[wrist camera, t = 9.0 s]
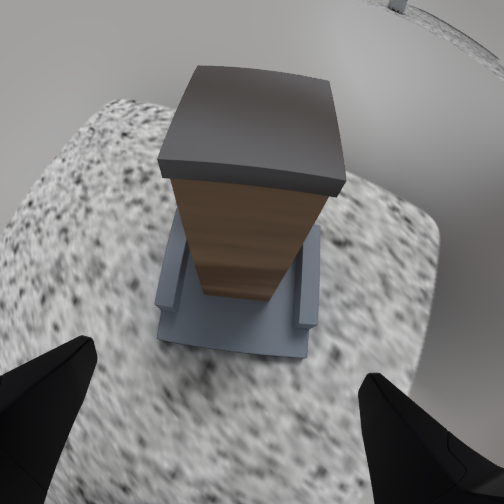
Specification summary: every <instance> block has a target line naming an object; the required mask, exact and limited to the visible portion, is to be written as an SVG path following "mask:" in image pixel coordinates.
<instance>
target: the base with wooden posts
mask: <svg viewBox="0 0 504 504" xmlns="http://www.w3.org/2000/svg"><path fill="white" fill-rule="evenodd" d="M319 282H320V226H319V225H313V227H312V228H311V230H310V232H309V234H308V236H307V237H306V239H305V241H304V243H303V244H302V246H301V248H300V250H299V251H298V253H297V255H296V257H295V258H294V260H293V262H292V264H291V265H290V267H289V269H288V271H287V272H286V274H285V276H284V277H283V279H282V281H281V283H280V284H279V286H278V288H277V289H276V291H275V293H274V294H273V296H272V298H271V299H270V301H258V300H248V299H239V298H229V297H221V296H212V295H204V293H203V290H202V287H201V284H200V281H199V278H198V274H197V271H196V268H195V265H194V261H193V258H192V255H191V252H190V248H189V245H188V241H187V238H186V235H185V231H184V228H183V224H182V221H181V217H180V214H179V210H178V207H177V209H176V212H175V216H174V220H173V224H172V228H171V232H170V236H169V240H168V244H167V248H166V252H165V257H164V261H163V265H162V270H161V275H160V279H159V284H158V289H157V294H156V299H155V305H156V306H157V307H158V308H159V309H161V310H162V311H161V316H160V322H159V328H158V334H157V339H159V340H162V341H167V342H173V343H178V344H184V345H190V346H196V347H203V348H209V349H216V350H224V351H231V352H240V353H248V354H258V355H268V356H279V357H292V358H307V352H308V339H309V329H311V328H312V327H314V326H316V325H318V309H319Z"/></svg>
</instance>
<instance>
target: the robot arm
mask: <svg viewBox="0 0 504 504" xmlns="http://www.w3.org/2000/svg"><path fill="white" fill-rule="evenodd" d="M96 364H97V353H96V349H95V345H94V341H93V339H92V338H91V337H87V336H84V335H81V336H78V337H76V338H75V339H73V340H71V341H69V342H67V343H65V344H63V345H61V346H59V347H57V348H55V349H53V350H51V351H49V352H47V353H45V354H43V355H41V356H39V357H37V358H35V359H33V360H31V361H29V362H27V363H25V364H23V365H21V366H19V367H17V368H15V369H13V370H11V371H9V372H7V373H5V374H3V376H2V375H1V376H0V504H44V501H45V498H46V495H47V491H48V489H49V486H50V483H51V480H52V477H53V474H54V471H55V469H56V466H57V463H58V461H59V458H60V455H61V453H62V450H63V448H64V445H65V443H66V440H67V438H68V435H69V433H70V431H71V428H72V426H73V423H74V421H75V419H76V417H77V414H78V412H79V410H80V408H81V405H82V403H83V401H84V398H85V396H86V393H87V390H88V387H89V384H90V381H91V378H92V375H93V372H94V369H95V366H96ZM358 400H359V409H360V419H361V430H362V436H363V441H364V446H365V452H366V457H367V462H368V467H369V473H370V479H371V484H372V491H373V497H374V503H375V504H504V468H502V467H499V466H497V465H495V464H494V463H492V462H491V461H489V460H488V459H486V458H484V457H483V456H482V455H480V454H478V453H477V452H475V451H474V450H473V449H471V448H470V447H468V446H467V445H466V444H464V443H463V442H462V441H460V440H459V439H458V438H457V437H455V436H454V435H453V434H452V433H451V432H449V431H447V429H446V428H444V427H443V426H442V425H441V424H440V423H439V422H437V421H436V420H435V419H434V418H432V417H431V416H430V415H429V414H428V413H427V412H425V411H424V410H423V409H422V408H421V407H419V406H418V405H417V404H416V403H415V402H413V401H412V400H411V399H410V398H409V397H408V396H406V395H405V394H404V393H403V392H402V391H401V390H399V389H398V388H397V387H396V386H395V385H393V384H392V383H391V382H390V381H389V380H388V379H386V378H385V377H384V376H383V375H382V374H380V373H368V374H367V375H366V377H365V379H364V381H363V383H362V385H361V387H360V388H359V391H358Z"/></svg>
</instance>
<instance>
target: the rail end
mask: <svg viewBox="0 0 504 504" xmlns="http://www.w3.org/2000/svg"><path fill="white" fill-rule="evenodd" d="M157 160H158V164H159V167H160V171H161V174H162V178H170V180H171V184H172V188H173V191H174V195H175V199H176V203H177V206H178V210H179V214H180V217H181V221H182V224H183V228H184V231H185V235H186V238H187V241H188V245H189V248H190V252H191V255H192V258H193V261H194V265H195V268H196V271H197V274H198V278H199V281H200V284H201V287H202V290H203V293H204V295H212V296H221V297H229V298H239V299H248V300H258V301H270V299H271V298H272V296H273V294H274V293H275V291H276V289H277V288H278V286H279V284H280V283H281V281H282V279H283V277H284V276H285V274H286V272H287V271H288V269H289V267H290V265H291V264H292V262H293V260H294V258H295V257H296V255H297V253H298V251H299V250H300V248H301V246H302V244H303V243H304V241H305V239H306V237H307V236H308V234H309V232H310V230H311V228H312V227H313V225H314V223H315V221H316V219H317V218H318V216H319V214H320V212H321V210H322V209H323V207H324V205H325V203H326V201H327V199H328V197H329V196H330V197H336V198H337V196H338V194H339V193H340V191H341V189H342V188H343V186H344V184H345V182H346V173H345V165H344V159H343V152H342V145H341V139H340V133H339V128H338V122H337V116H336V112H335V106H334V101H333V97H332V92H331V87H330V83H329V81H327V80H322V79H317V78H312V77H307V76H301V75H295V74H289V73H283V72H276V71H268V70H260V69H250V68H239V67H224V66H197V68H196V70H195V71H194V73H193V75H192V78H191V80H190V82H189V84H188V86H187V88H186V90H185V93H184V95H183V97H182V99H181V102H180V104H179V106H178V108H177V110H176V113H175V115H174V117H173V120H172V122H171V125H170V127H169V130H168V132H167V135H166V137H165V140H164V142H163V145H162V148H161V150H160V153H159V156H158V158H157Z"/></svg>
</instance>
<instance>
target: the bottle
mask: <svg viewBox="0 0 504 504" xmlns="http://www.w3.org/2000/svg"><path fill="white" fill-rule="evenodd" d="M406 3H407V0H390V1H389V4H388V6H389V8H390V9H391V10H393V8H394V10H395V12H396V11H397V10H398V13H403V12H404V10H405V7H406Z"/></svg>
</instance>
